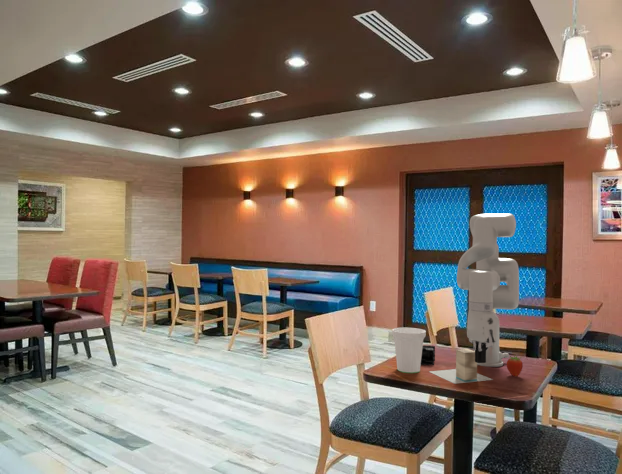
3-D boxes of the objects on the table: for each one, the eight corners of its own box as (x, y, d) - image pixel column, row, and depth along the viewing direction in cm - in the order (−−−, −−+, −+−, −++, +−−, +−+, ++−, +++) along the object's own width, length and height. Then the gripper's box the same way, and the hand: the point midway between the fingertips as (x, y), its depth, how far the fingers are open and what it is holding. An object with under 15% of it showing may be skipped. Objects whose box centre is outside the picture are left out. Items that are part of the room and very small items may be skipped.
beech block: (467, 376, 172) (468, 348, 172) (477, 380, 167) (477, 351, 167) (455, 378, 170) (456, 349, 170) (464, 382, 165) (464, 352, 165)
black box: (434, 361, 196) (434, 344, 196) (435, 365, 189) (435, 348, 189) (409, 359, 198) (409, 343, 198) (409, 364, 191) (409, 347, 191)
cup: (388, 373, 177) (388, 331, 177) (395, 365, 189) (395, 326, 189) (423, 377, 172) (423, 334, 173) (427, 368, 184) (428, 328, 184)
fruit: (512, 379, 171) (512, 356, 171) (503, 375, 176) (503, 353, 176) (525, 378, 172) (526, 355, 172) (516, 374, 177) (516, 352, 177)
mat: (464, 369, 184) (464, 368, 184) (493, 380, 169) (493, 379, 169) (428, 372, 179) (428, 371, 179) (454, 384, 163) (454, 383, 163)
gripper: (505, 309, 156) (505, 366, 155) (475, 304, 170) (475, 357, 169) (486, 310, 153) (486, 368, 153) (457, 305, 168) (457, 358, 167)
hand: (480, 362), depth 161 cm, fingers closed
